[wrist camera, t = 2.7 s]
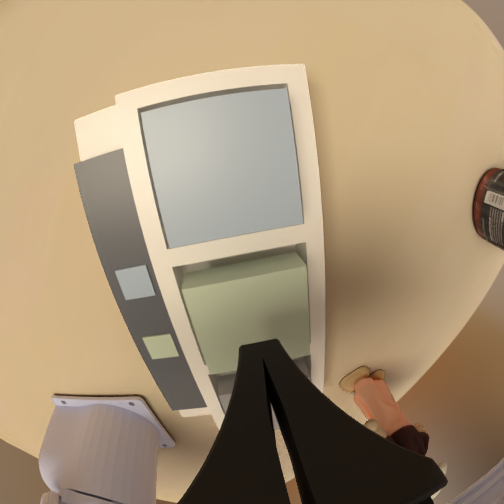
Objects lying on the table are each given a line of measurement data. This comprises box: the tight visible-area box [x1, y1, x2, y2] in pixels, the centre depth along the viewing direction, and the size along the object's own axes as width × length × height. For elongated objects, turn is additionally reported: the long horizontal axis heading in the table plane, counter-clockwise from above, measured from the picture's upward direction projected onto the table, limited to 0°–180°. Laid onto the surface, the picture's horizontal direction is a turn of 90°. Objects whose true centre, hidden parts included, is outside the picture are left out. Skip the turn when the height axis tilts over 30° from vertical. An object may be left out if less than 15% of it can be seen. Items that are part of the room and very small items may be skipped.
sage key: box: [182, 252, 310, 375], centre depth 12 cm, size 5×5×1 cm
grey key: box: [217, 359, 310, 430], centre depth 15 cm, size 5×5×1 cm
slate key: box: [141, 88, 303, 248], centre depth 9 cm, size 5×5×1 cm
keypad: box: [74, 64, 326, 430], centre depth 14 cm, size 10×20×3 cm, turn 8°
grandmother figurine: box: [339, 366, 447, 499], centre depth 15 cm, size 8×4×13 cm, turn 70°
